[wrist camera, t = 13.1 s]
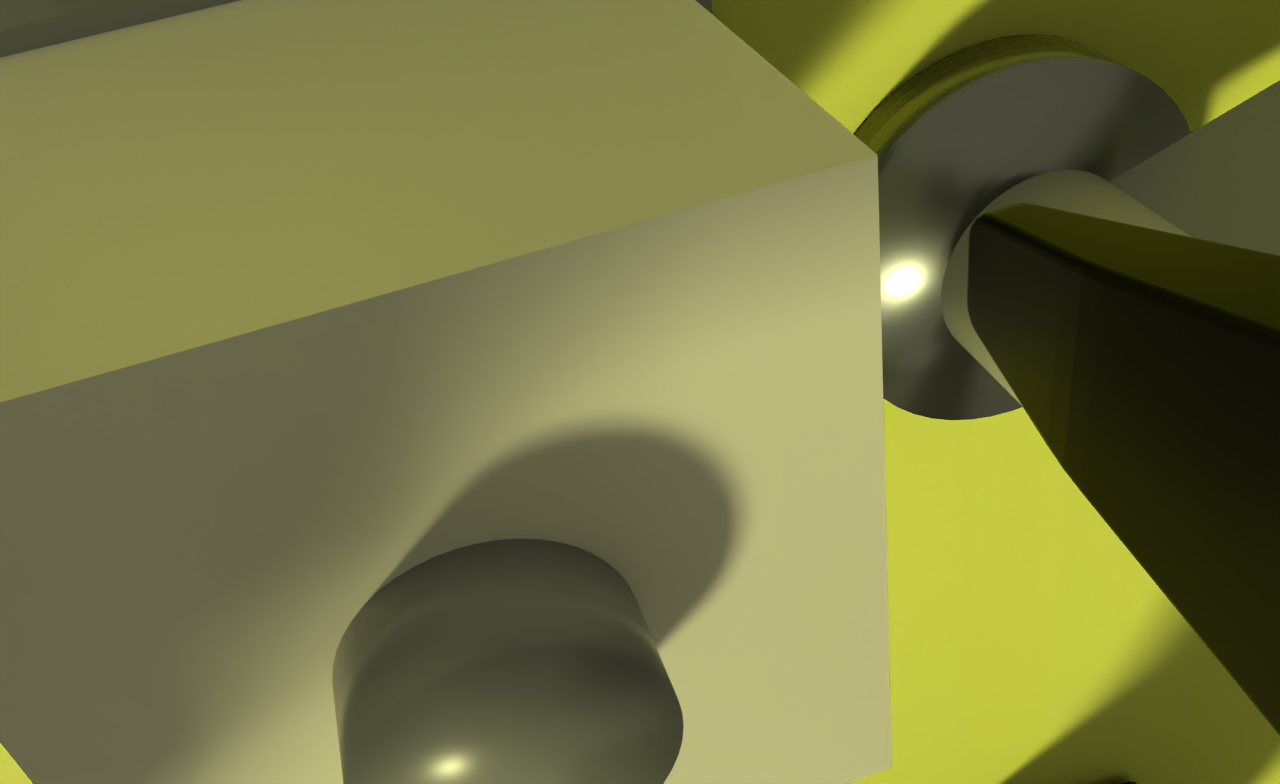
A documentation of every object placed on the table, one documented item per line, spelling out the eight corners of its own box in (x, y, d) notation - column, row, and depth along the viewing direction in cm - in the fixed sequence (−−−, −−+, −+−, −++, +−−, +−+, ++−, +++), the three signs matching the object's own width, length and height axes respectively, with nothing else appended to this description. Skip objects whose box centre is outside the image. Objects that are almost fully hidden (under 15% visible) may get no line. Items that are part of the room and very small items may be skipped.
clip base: (1125, 324, 17) (1169, 359, 16) (817, 422, 16) (847, 463, 16) (1171, -9, 14) (1226, 15, 13) (794, 93, 13) (831, 123, 13)
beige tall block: (644, 315, 14) (970, 865, 8) (204, 446, 13) (199, 1166, 7) (562, -154, 11) (1007, 170, 5) (-24, -20, 10) (-383, 575, 4)
